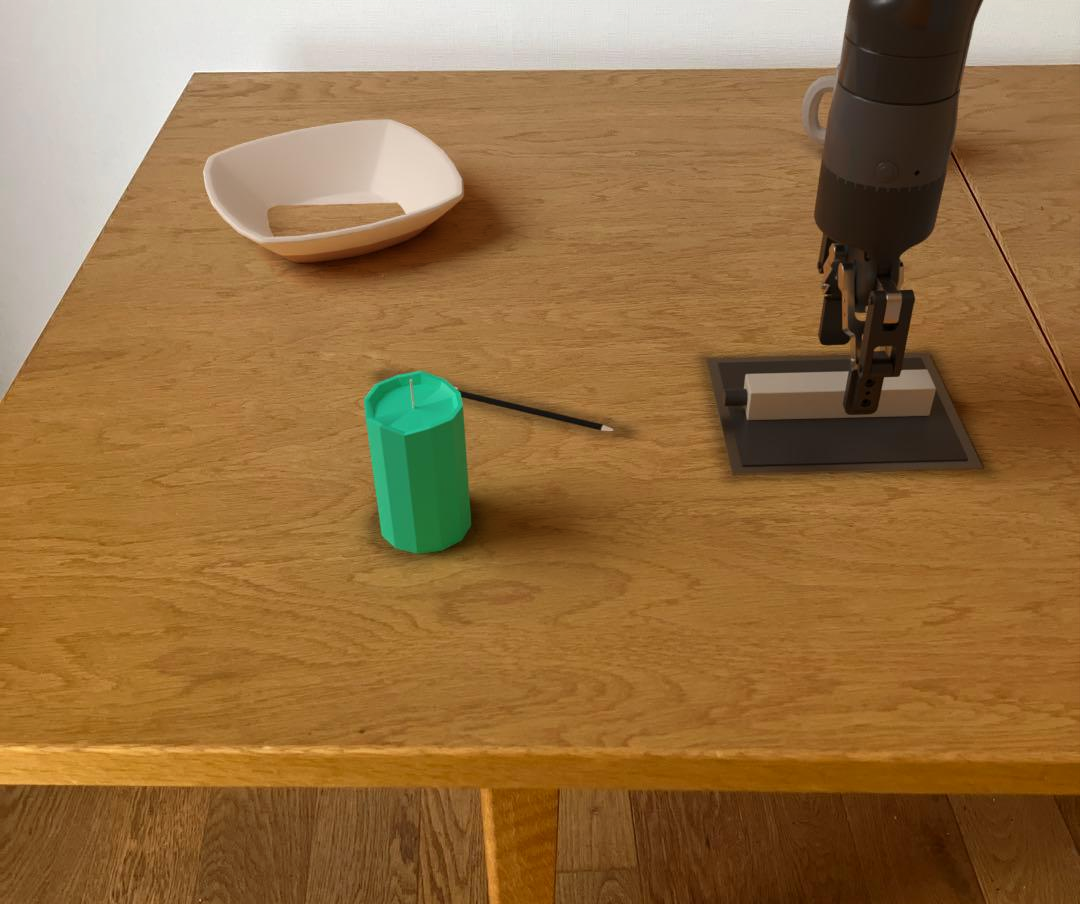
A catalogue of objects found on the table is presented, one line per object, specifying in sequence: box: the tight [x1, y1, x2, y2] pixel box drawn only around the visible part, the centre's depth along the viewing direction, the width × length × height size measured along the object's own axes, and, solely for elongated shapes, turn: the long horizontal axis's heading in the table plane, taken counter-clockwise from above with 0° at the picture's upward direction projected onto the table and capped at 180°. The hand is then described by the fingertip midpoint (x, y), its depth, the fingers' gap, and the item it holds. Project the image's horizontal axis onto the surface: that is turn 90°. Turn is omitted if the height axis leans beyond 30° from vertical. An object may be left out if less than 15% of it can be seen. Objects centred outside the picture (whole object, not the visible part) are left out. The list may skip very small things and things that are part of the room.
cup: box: [800, 62, 840, 145], centre depth 116 cm, size 7×10×9 cm
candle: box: [363, 370, 472, 555], centre depth 74 cm, size 6×6×12 cm
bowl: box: [202, 118, 465, 264], centre depth 108 cm, size 22×22×5 cm
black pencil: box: [454, 386, 615, 432], centre depth 87 cm, size 1×19×1 cm, turn 67°
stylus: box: [723, 369, 936, 420], centre depth 85 cm, size 15×2×2 cm, turn 91°
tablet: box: [705, 352, 984, 476], centre depth 86 cm, size 17×14×1 cm
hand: (845, 375), depth 84 cm, fingers open, 8 cm apart
